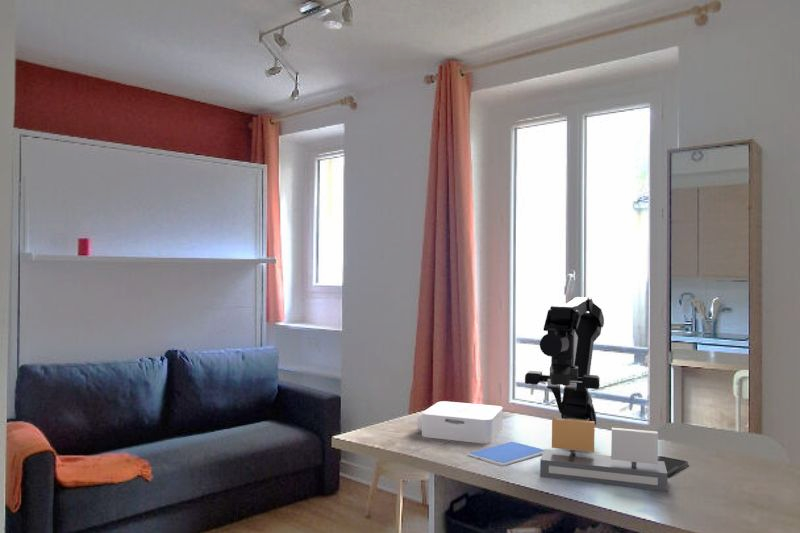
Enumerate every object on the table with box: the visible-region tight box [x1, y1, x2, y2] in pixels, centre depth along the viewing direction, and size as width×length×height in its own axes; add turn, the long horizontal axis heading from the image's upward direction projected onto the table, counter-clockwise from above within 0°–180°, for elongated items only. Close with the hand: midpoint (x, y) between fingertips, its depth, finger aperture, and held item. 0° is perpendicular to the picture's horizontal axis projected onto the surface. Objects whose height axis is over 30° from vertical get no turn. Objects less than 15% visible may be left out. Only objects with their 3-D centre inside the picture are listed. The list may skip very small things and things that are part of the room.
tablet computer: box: [467, 441, 545, 467], centre depth 172 cm, size 19×13×1 cm, turn 132°
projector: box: [416, 400, 504, 444], centre depth 195 cm, size 21×22×7 cm
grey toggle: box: [610, 427, 659, 466], centre depth 149 cm, size 2×10×8 cm, turn 71°
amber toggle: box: [551, 417, 596, 454], centre depth 158 cm, size 2×10×8 cm, turn 72°
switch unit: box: [539, 448, 668, 492], centre depth 154 cm, size 10×28×4 cm, turn 72°
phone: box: [658, 455, 689, 478], centre depth 163 cm, size 8×1×15 cm
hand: (561, 412), depth 169 cm, fingers closed
